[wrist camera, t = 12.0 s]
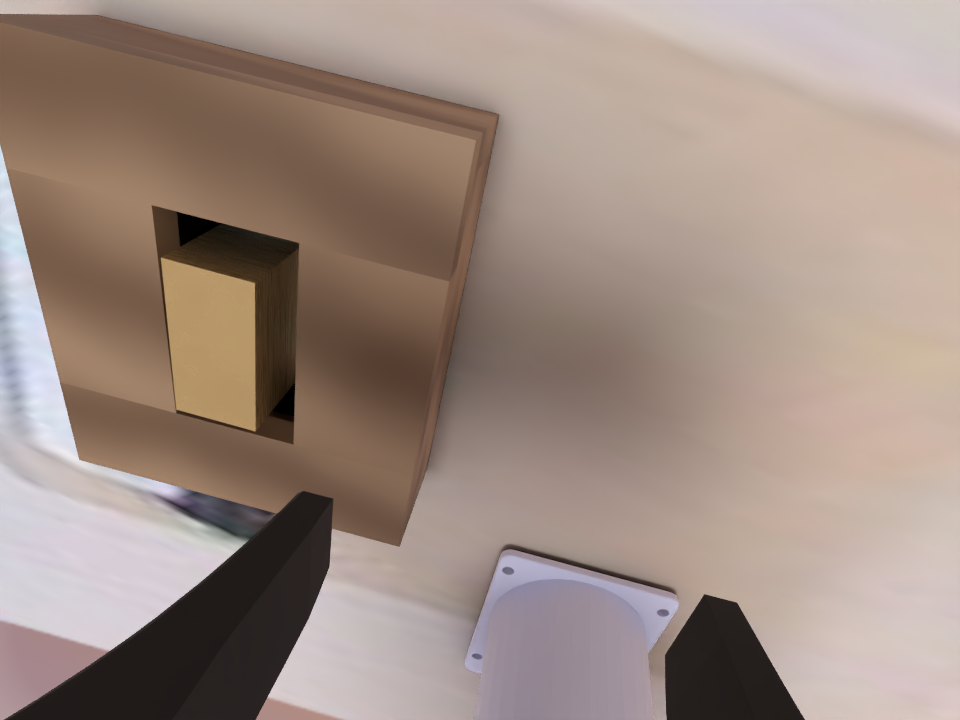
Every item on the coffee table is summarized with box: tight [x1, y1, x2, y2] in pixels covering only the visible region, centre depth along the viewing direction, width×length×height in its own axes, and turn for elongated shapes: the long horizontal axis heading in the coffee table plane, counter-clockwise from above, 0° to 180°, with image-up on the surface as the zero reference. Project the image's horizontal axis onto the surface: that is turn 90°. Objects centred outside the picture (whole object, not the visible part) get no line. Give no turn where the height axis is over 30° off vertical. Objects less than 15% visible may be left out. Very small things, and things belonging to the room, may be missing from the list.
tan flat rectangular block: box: [161, 223, 299, 431], centre depth 18 cm, size 5×2×5 cm, turn 168°
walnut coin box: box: [0, 14, 499, 546], centre depth 18 cm, size 14×12×4 cm
